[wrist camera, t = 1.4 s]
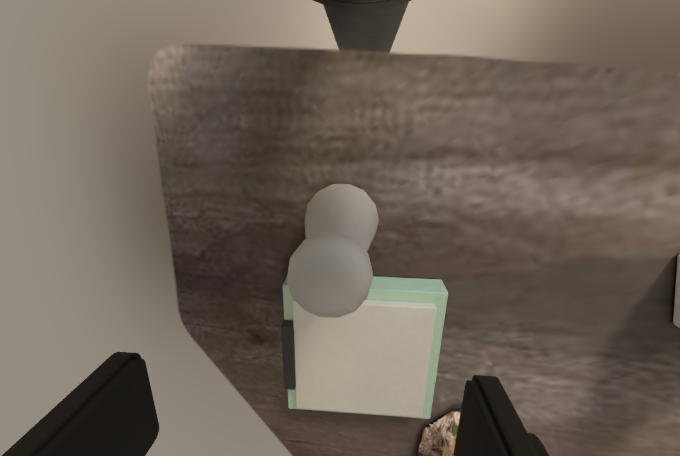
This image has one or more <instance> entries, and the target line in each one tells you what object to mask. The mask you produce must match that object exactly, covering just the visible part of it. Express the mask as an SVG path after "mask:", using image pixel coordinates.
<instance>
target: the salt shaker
mask: <svg viewBox="0 0 680 456" xmlns="http://www.w3.org/2000/svg"><path fill="white" fill-rule="evenodd" d="M378 222H379V218H378V214H377V209H376V205H375V204H374V202H373V201H372V200H371V199H370V197H369V196H368V195H367V194H366V192H365V191H363V190H361V189H359V188H357V187H355V186H353V185H350V184H332V185H330V186H328V187H326V188H324V189H322V190H320V191H318V192H317V193H316V194H315V195H314V197H313V198H312V199H311V200H310V202H309V203H308V204H307V208H306V215H305V236H306V239H305V240H304V241H303V242H302V243H301V245H300V246H299V247H298V248H297V250H296V251H295V252H294V253H293V255H292V256H291V257H290V261H289V268H288V274H287V284H288V287H289V290H290V293H291V297H292V298H293V299H294V300H295V301H296V302H297V303H298V304H299V305H300V306H301V307H302V308H303V309H304V310H305V311H308V312H310V313H312V314H314V315H317V316H319V317H335V318H339V317H341V316H344V315H347V314H349V313H352V312H355V311H356V310H357V309H358V308H359V307H360V305H361V304H362V303H363V302H364V301H365V300H366V299H367V296H368V293H369V289H370V286H371V282H372V279H373V272H372V267H371V264H370V260H369V256H368V253H367V251H368V249H369V247H370V245H371V243H372V241H373V239H374V237H375V234H376V230H377V226H378Z"/></svg>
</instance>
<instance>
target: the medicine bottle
mask: <svg viewBox="0 0 680 456" xmlns="http://www.w3.org/2000/svg"><path fill="white" fill-rule="evenodd" d="M673 323H674V325H676V326H677V327H679V328H680V254H679V255H678V257H677V271H676V285H675V300H674V314H673Z"/></svg>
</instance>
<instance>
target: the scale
mask: <svg viewBox="0 0 680 456" xmlns="http://www.w3.org/2000/svg"><path fill="white" fill-rule="evenodd" d="M447 297H448V292H447V290H446V288H445V286H444V284H443V282H442V280H439V279H418V278H397V277H375V276H373V279H372V282H371V286H370V289H369V293H368V296H367V299H366V300H365V301H364V302H363V303H362V304H361V305H360V307H359V308H358V309H357V310H356V311H355V312H352V313H349V314H347V315H344V316H341V317H339V318H335V317H319V316H317V315H314V314H312V313H310V312H308V311H305V310H304V309H303V308H302V307H301V306H300V305H299V304H298V303H297V302H296V301H295V300H294V299H293V298H292V297H291V293H290V290H289V287H288V284H287V277H286V279H285V281H284V283H283V305H284V322H283V324H282V345H283V364H284V383H285V389H288V406H289V408H290V409H304V410H317V411H331V412H344V413H358V414H371V415H385V416H398V417H411V418H425V419H430V415H431V409H432V402H433V395H434V388H435V381H436V374H437V367H438V360H439V353H440V346H441V339H442V332H443V325H444V318H445V311H446V304H447Z"/></svg>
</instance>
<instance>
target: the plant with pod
mask: <svg viewBox="0 0 680 456" xmlns="http://www.w3.org/2000/svg"><path fill="white" fill-rule="evenodd" d="M460 413H461V409H456V410H454V411H452V412H450V413H448V414H445V415H444V416H443V417H442V418H441V419H438V420H437V421H436V422H433V423H434V424H435V425H433V424H429V425H430V427H431V428H430V427H427V426H426V427H425V429H424V430H423V431H424V432H423V435H422V439H423V440H422V441H421V444H420V445H419V448H420V449H419V451H418V454H417V455H420V456H454V447H455V441H456V436H457V430H458V424H459V419H460ZM419 452H420V453H419Z"/></svg>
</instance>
